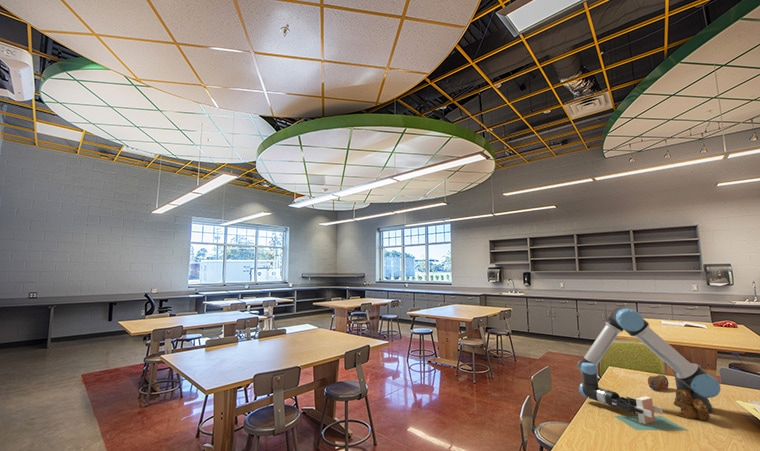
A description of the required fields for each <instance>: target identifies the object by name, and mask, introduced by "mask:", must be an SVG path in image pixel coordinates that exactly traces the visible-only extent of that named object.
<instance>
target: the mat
mask: <svg viewBox="0 0 760 451" xmlns="http://www.w3.org/2000/svg"><path fill="white" fill-rule="evenodd" d="M654 416H655V421H654V422H651V423H648V424H643V423H640V422H639V417H638V415H613V417H615V418H616V419H618V420H619V421H621V422H622V423H624V424H625V425H627V426H629V427H630V428H632V429H633V430H635V431H688V429H687V428H685V427H683V426H681V425H680V424H678V423H676V422H674V421H672V420H669V419H667V418H665V417H664V416H661V415H654Z"/></svg>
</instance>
